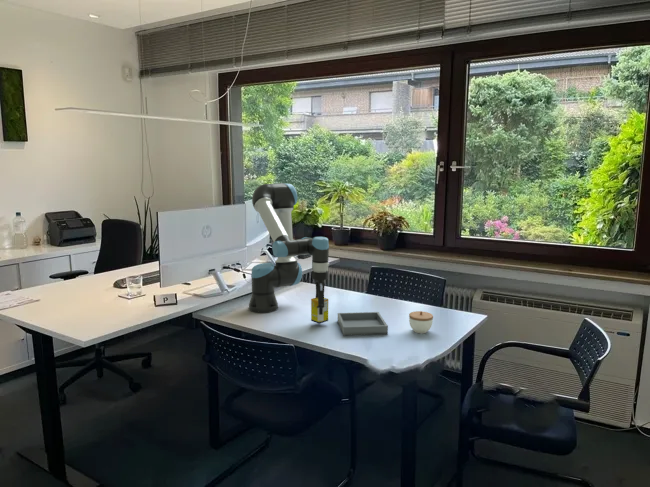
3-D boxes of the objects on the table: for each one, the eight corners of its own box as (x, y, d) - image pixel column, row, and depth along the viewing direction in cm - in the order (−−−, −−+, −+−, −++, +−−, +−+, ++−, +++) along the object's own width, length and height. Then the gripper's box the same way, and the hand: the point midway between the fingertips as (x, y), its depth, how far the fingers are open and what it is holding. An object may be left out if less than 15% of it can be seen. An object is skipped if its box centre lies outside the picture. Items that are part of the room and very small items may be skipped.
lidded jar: (427, 336, 217) (428, 316, 215) (404, 332, 222) (405, 312, 221) (435, 329, 226) (436, 310, 224) (413, 325, 231) (414, 306, 230)
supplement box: (319, 317, 235) (320, 296, 233) (328, 321, 231) (328, 298, 229) (310, 320, 231) (310, 298, 229) (319, 324, 227) (319, 301, 225)
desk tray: (337, 321, 237) (337, 313, 236) (378, 319, 239) (378, 311, 238) (343, 335, 217) (343, 327, 217) (387, 334, 219) (387, 325, 219)
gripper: (330, 276, 217) (330, 325, 221) (325, 265, 237) (325, 310, 241) (313, 276, 216) (313, 325, 220) (310, 265, 236) (310, 310, 241)
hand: (319, 317), depth 231 cm, fingers closed on supplement box, 8 cm apart
